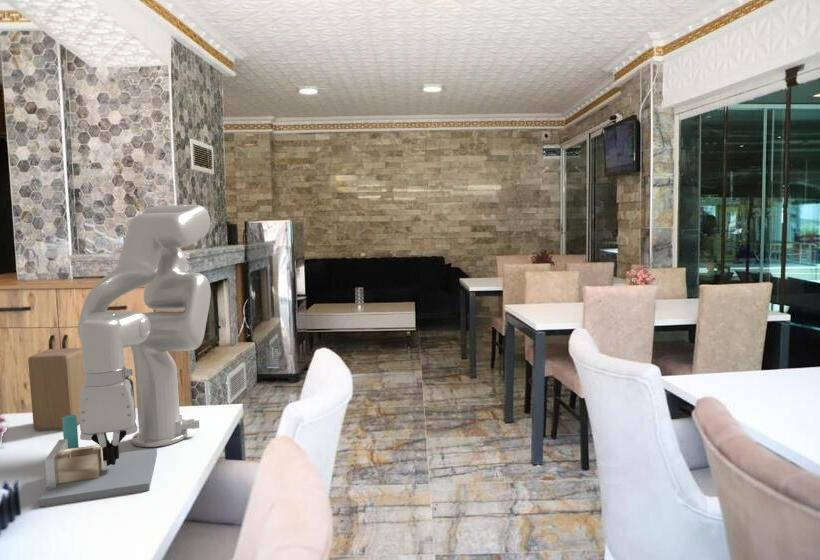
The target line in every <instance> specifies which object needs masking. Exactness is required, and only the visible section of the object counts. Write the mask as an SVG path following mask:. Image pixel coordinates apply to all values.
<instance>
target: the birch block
mask: <svg viewBox="0 0 820 560" xmlns="http://www.w3.org/2000/svg"><path fill="white" fill-rule="evenodd" d="M57 464H58V477H59V483H65V482H72V481H79V480H86V479H93V478H98V477H99V475H100V472H101V470H102V468H103V465H104V462H103V452H102V447H100V445H99V444H96V445H88V446H81V447H79V448H71V449H65V450H64V452H63V453H62V455H61V457H60V458H59V460H58V461H57Z"/></svg>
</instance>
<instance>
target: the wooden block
mask: <svg viewBox="0 0 820 560" xmlns="http://www.w3.org/2000/svg"><path fill="white" fill-rule="evenodd" d="M27 363H28V373H29V374H28V376H29V387H30V399H31V411H32V413H31V414H32V422H33V423H32V425H33V429H34V431H57V430H58V431H60V430H62V431H63V424H62V417H64V416H68V415H76V418H77V426H78V425H80V393H81V387H82V385H84V384H85V383H84V371H83V359H82V348H79V347H77V348H76V347H75V348H48V349H46V350H43V351H41V352H40V351H39V352H38V353H35V354H33V355H30V356H29V357H28V360H27Z"/></svg>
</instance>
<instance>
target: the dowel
mask: <svg viewBox="0 0 820 560" xmlns="http://www.w3.org/2000/svg"><path fill="white" fill-rule="evenodd" d="M62 424H63V430H62V433H63V436H62V437H63V439H67V441H68V449H71V448H79V436H78V435H79V434H78V433H79V431H78V425H77V418H76V415H68V416H64V417H62Z"/></svg>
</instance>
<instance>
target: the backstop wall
mask: <svg viewBox="0 0 820 560" xmlns="http://www.w3.org/2000/svg"><path fill="white" fill-rule="evenodd" d="M65 449H68V441H67V439H64V438H63V439H59V440H58V441H57V442H56V444H55V446H54V447H53V448H52V449H51V451H50V452H49V453H48V455H47V457H46V458H45V460H44V467H45V479H46V487H47V490H52V489H56V488H57V486H58V485H59V477H58V464H57V461H58V460H59V458H60V457H61V455H62V453H63V452H64V450H65Z"/></svg>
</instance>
